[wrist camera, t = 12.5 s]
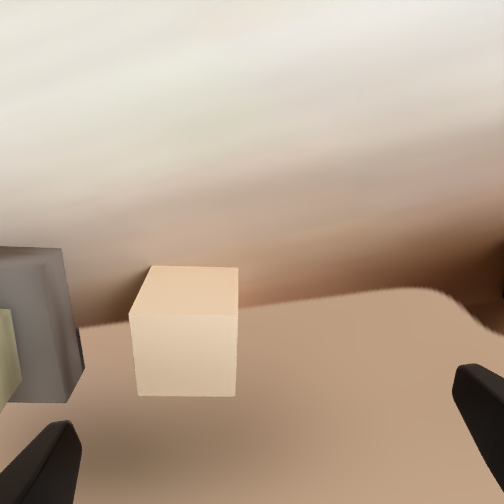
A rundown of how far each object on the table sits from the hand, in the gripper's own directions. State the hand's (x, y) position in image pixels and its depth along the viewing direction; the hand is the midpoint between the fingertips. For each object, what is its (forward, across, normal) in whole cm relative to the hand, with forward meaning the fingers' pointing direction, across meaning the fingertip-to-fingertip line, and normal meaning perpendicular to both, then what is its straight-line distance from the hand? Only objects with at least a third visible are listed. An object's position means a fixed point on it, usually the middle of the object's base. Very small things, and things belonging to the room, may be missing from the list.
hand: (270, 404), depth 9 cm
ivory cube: (+13, +3, +6) cm, 15 cm away
